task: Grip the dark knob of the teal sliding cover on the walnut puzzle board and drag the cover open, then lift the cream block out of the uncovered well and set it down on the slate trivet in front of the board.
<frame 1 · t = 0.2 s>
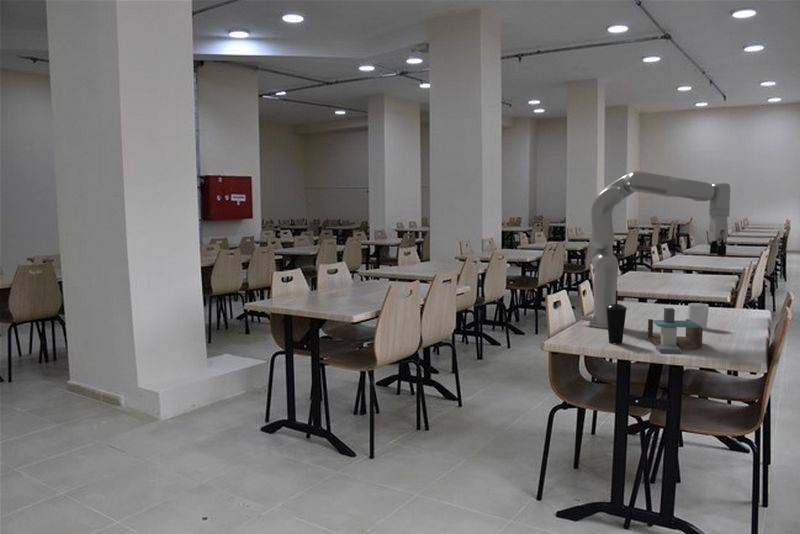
hand: (717, 254, 276), 31 cm above the table, tool pointing down, fingers open, 9 cm apart
block: (668, 346, 244), resting in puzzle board
cover: (675, 317, 243), point 11 cm above the table, slide at 0.0 cm
trivet: (668, 351, 236), on the table
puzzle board: (673, 343, 249), on the table
drinking cup: (615, 343, 252), on the table
white cup: (697, 328, 280), on the table
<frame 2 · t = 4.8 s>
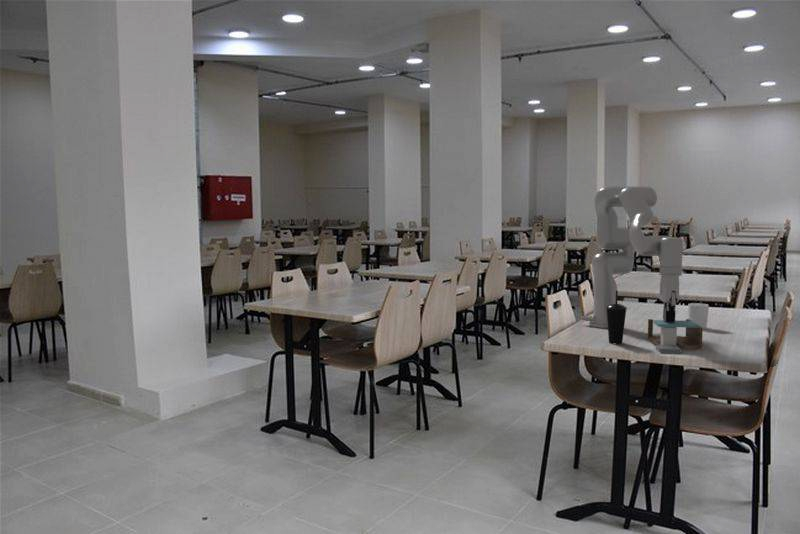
hand: (669, 320, 243), 10 cm above the table, tool pointing down, fingers closed on cover, 3 cm apart
cover: (675, 317, 243), point 11 cm above the table, slide at 0.0 cm, touching gripper
everything else where it was.
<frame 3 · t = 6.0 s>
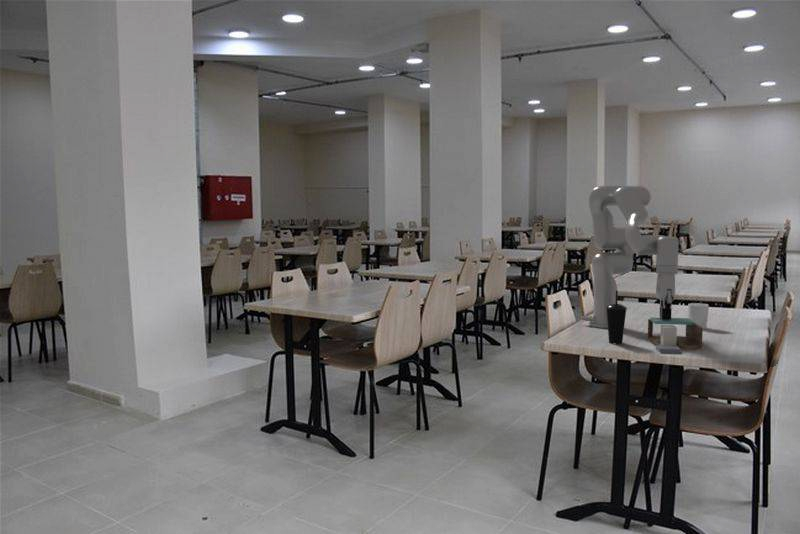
hand: (665, 317, 249), 10 cm above the table, tool pointing down, fingers closed on cover, 3 cm apart
cover: (672, 314, 249), point 11 cm above the table, slide at 5.7 cm, touching gripper
everything else where it was.
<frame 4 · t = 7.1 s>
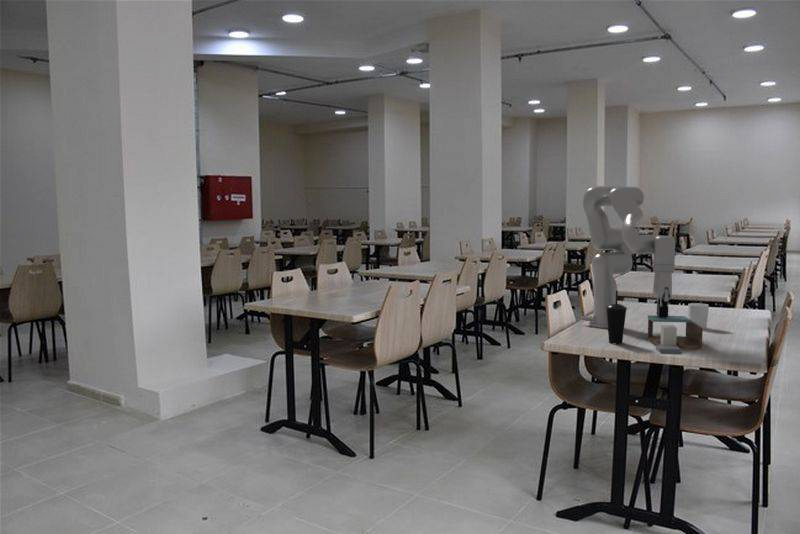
hand: (662, 315, 254), 10 cm above the table, tool pointing down, fingers closed on cover, 3 cm apart
cover: (668, 312, 253), point 11 cm above the table, slide at 10.5 cm, touching gripper
everything else where it was.
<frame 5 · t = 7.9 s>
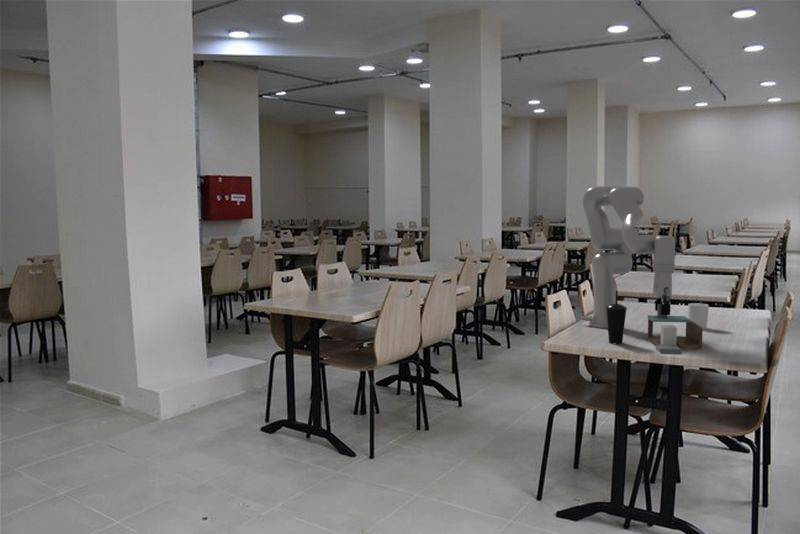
hand: (662, 312, 254), 11 cm above the table, tool pointing down, fingers open, 9 cm apart
cover: (668, 312, 253), point 11 cm above the table, slide at 10.5 cm
everything else where it was.
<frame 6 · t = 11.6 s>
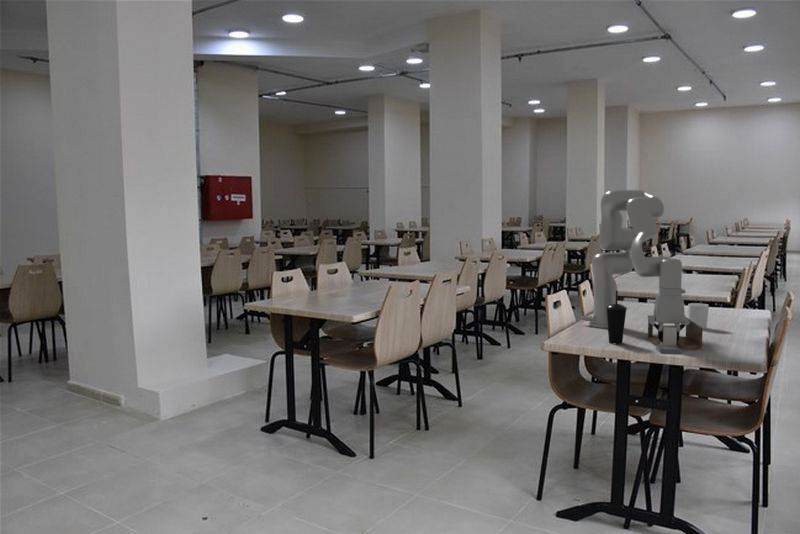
hand: (668, 341, 244), 2 cm above the table, tool pointing down, fingers closed on block, 4 cm apart
block: (668, 346, 244), resting in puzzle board, touching gripper
everything else where it was.
when the fingers open (5 cm above the table, at t = 15.9 s): block drops 1 cm, resting on trivet.
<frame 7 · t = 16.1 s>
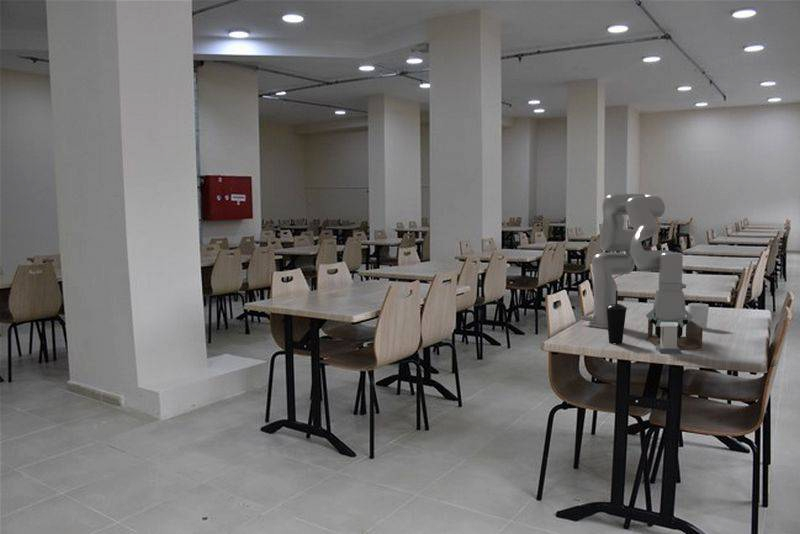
hand: (668, 336, 236), 5 cm above the table, tool pointing down, fingers open, 6 cm apart
block: (668, 347, 236), point 1 cm above the table, touching trivet
everything else where it was.
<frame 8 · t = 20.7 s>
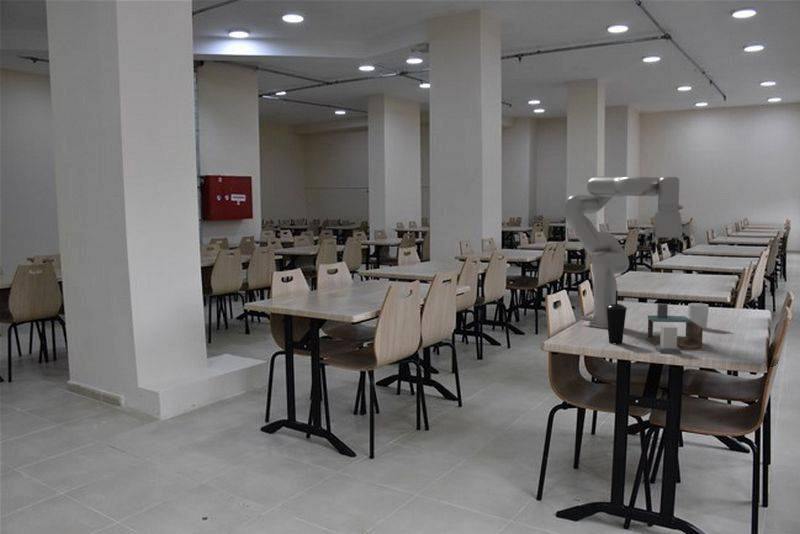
hand: (666, 252, 260), 33 cm above the table, tool pointing down, fingers open, 9 cm apart
nothing on the table moved.
at the end: cover slide at 10.5 cm; block inside the target area on the trivet (0.1 cm from its centre), point 1.5 cm above the trivet's base; block tilted 0° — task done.
